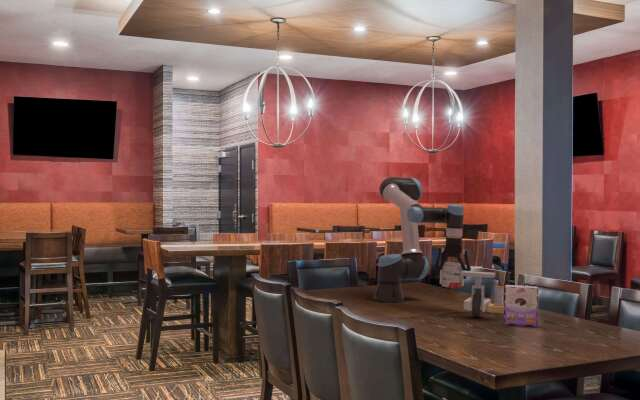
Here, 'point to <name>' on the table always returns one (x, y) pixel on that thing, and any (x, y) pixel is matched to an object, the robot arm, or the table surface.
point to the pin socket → (495, 309)
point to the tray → (468, 304)
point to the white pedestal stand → (477, 300)
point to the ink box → (451, 275)
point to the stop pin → (499, 295)
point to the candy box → (521, 305)
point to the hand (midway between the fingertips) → (451, 284)
